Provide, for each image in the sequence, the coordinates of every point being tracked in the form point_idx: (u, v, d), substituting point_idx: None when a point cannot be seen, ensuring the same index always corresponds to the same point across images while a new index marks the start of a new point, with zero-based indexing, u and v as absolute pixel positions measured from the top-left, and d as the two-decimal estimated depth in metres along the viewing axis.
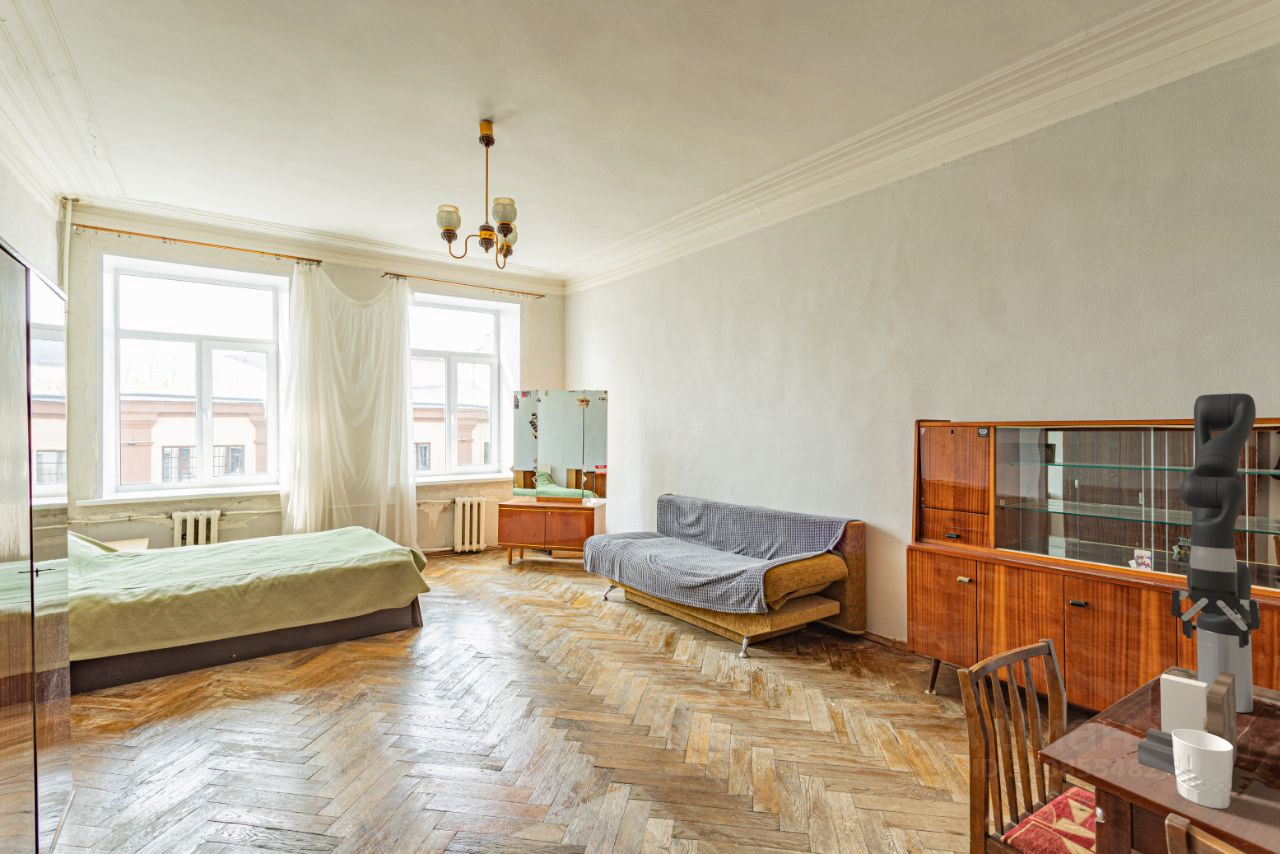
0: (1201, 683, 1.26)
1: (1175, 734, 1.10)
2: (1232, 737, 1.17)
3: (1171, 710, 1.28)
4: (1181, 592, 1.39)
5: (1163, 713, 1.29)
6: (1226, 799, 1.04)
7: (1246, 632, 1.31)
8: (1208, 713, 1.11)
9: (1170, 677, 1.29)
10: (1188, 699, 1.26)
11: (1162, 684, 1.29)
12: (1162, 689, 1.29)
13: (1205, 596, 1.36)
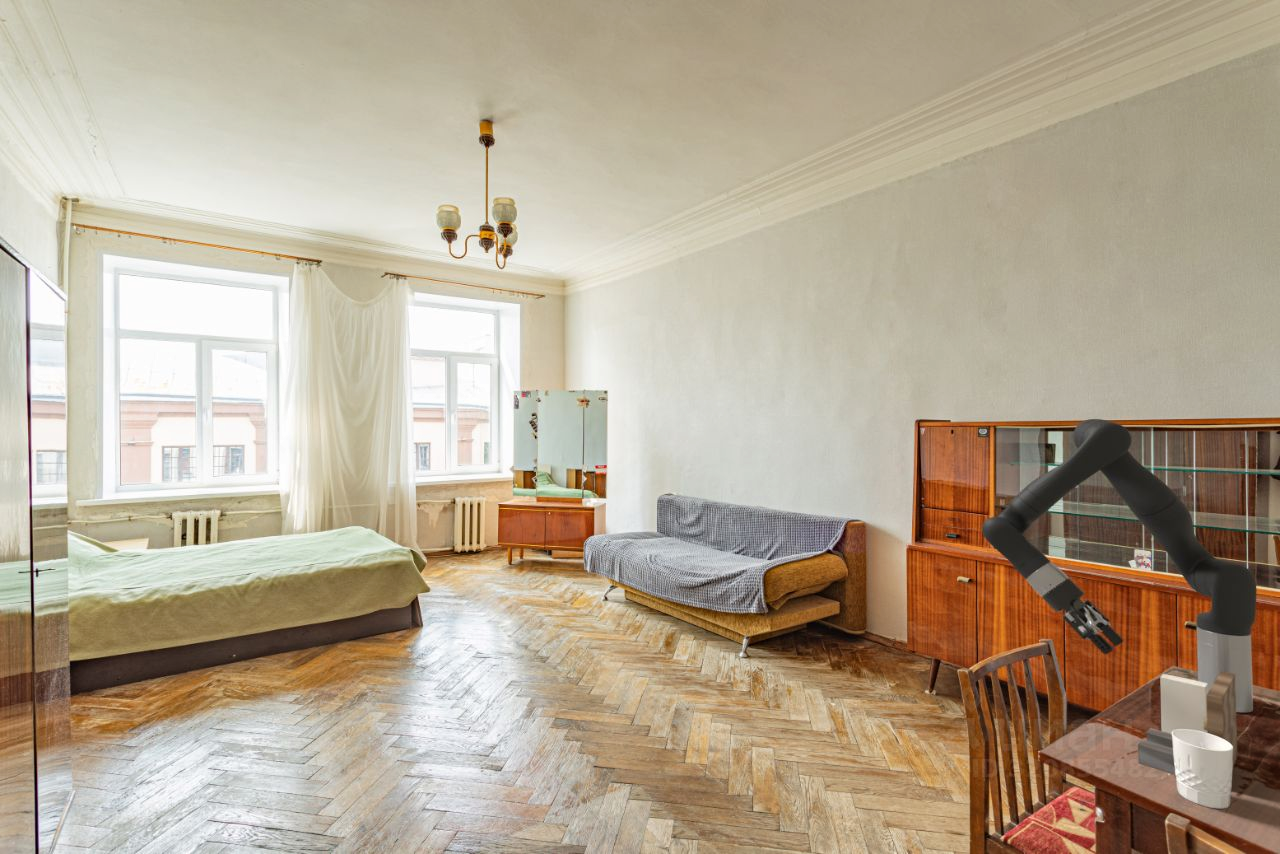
0: (1201, 683, 1.26)
1: (1175, 734, 1.10)
2: (1232, 737, 1.17)
3: (1171, 710, 1.28)
4: None
5: (1163, 713, 1.29)
6: (1226, 799, 1.04)
7: None
8: (1208, 713, 1.11)
9: (1170, 677, 1.29)
10: (1188, 699, 1.26)
11: (1162, 684, 1.29)
12: (1162, 689, 1.29)
13: None
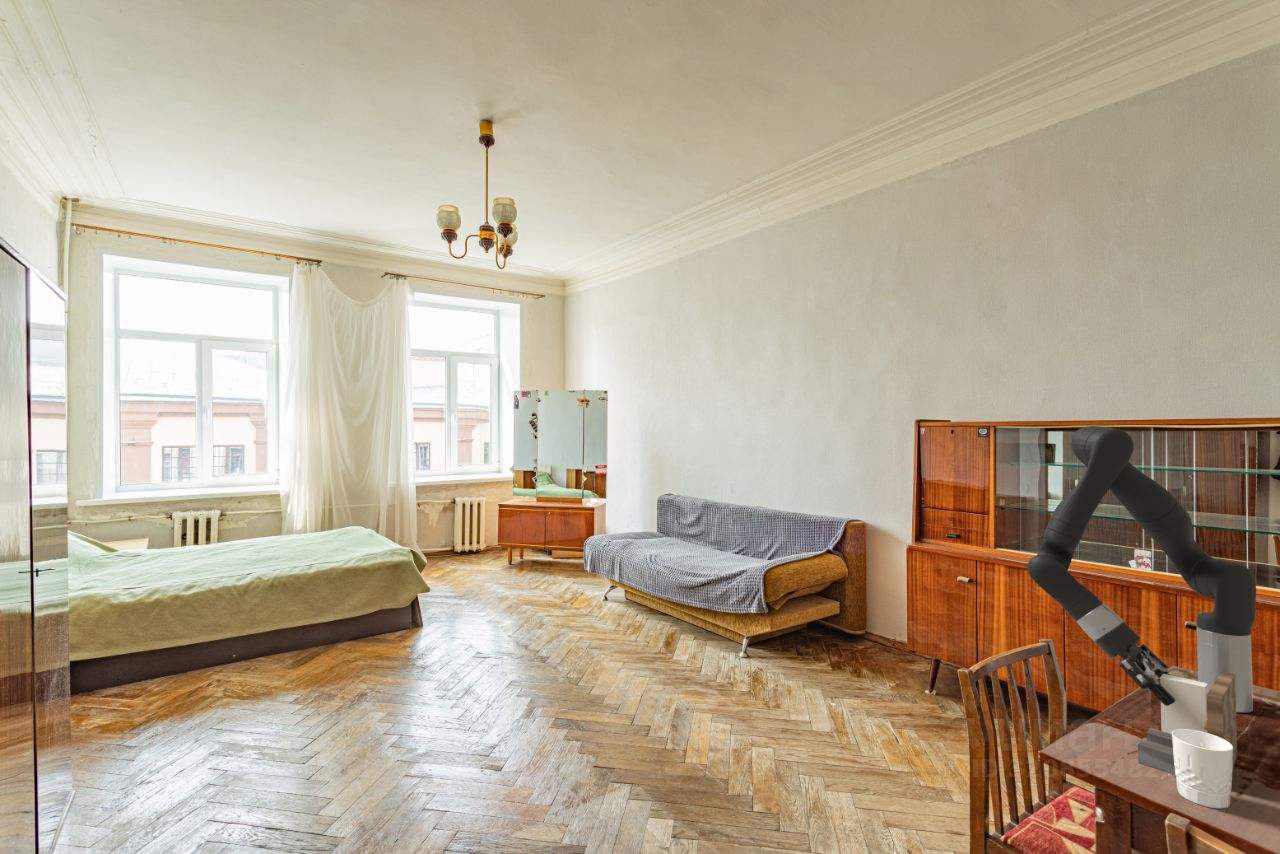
0: (1201, 683, 1.26)
1: (1175, 734, 1.10)
2: (1232, 737, 1.17)
3: (1171, 710, 1.28)
4: None
5: (1163, 713, 1.29)
6: (1226, 799, 1.04)
7: None
8: (1208, 713, 1.11)
9: (1170, 677, 1.29)
10: (1188, 699, 1.26)
11: (1162, 684, 1.29)
12: None
13: None
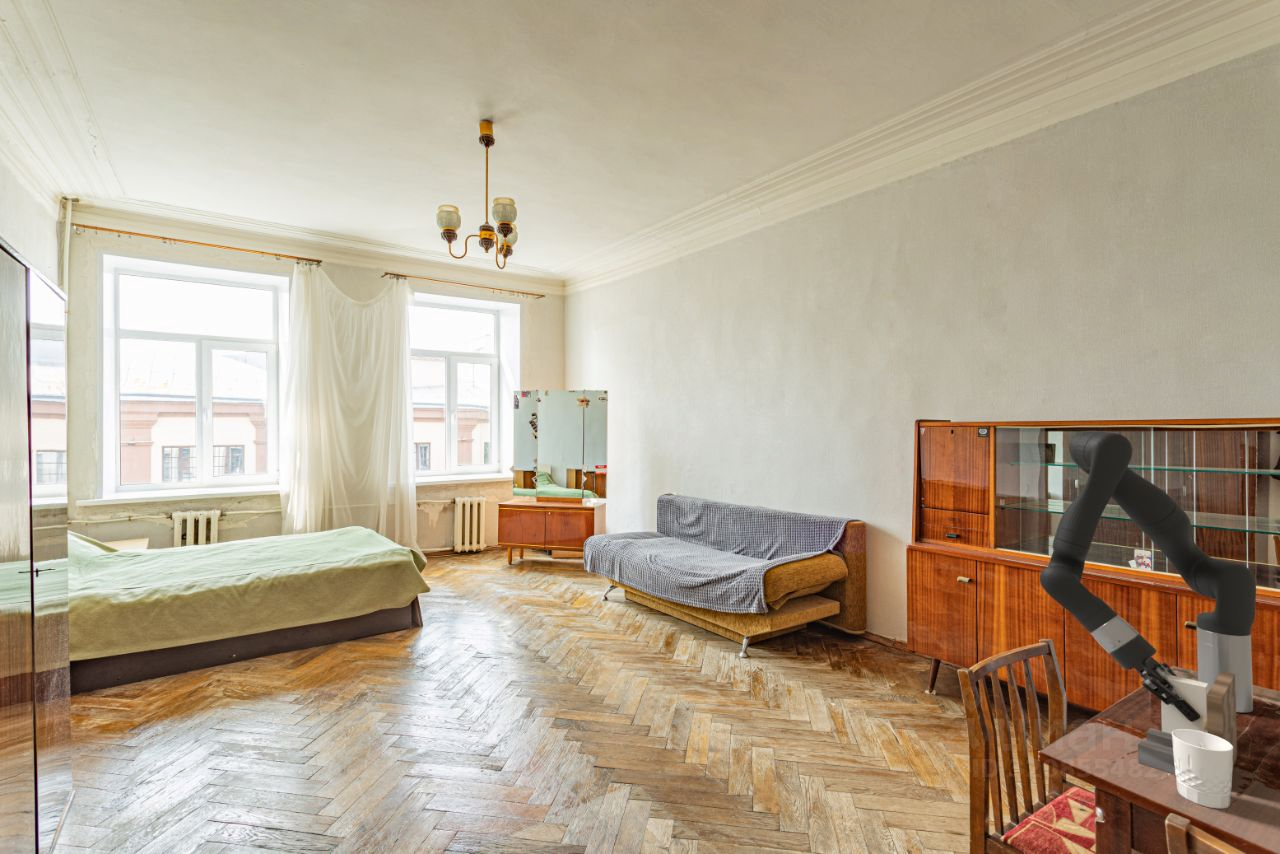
0: (1202, 683, 1.26)
1: (1175, 734, 1.10)
2: (1232, 737, 1.17)
3: (1171, 710, 1.28)
4: None
5: (1163, 713, 1.29)
6: (1226, 799, 1.04)
7: None
8: (1208, 713, 1.11)
9: (1171, 677, 1.29)
10: (1189, 699, 1.26)
11: None
12: None
13: None
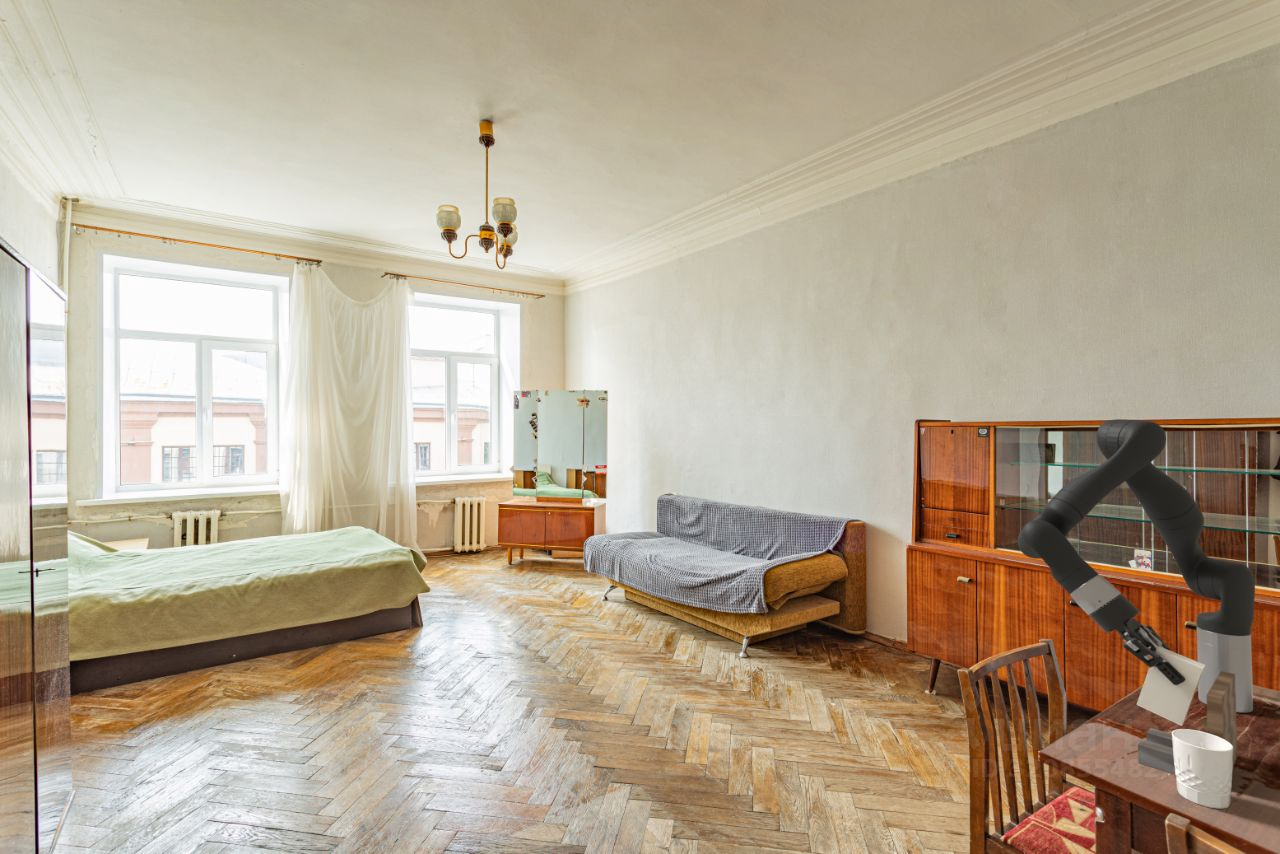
0: (1199, 663, 1.16)
1: (1175, 734, 1.10)
2: (1232, 737, 1.17)
3: (1155, 683, 1.19)
4: None
5: (1146, 685, 1.20)
6: (1226, 799, 1.04)
7: None
8: (1208, 713, 1.11)
9: (1166, 651, 1.19)
10: None
11: None
12: None
13: None
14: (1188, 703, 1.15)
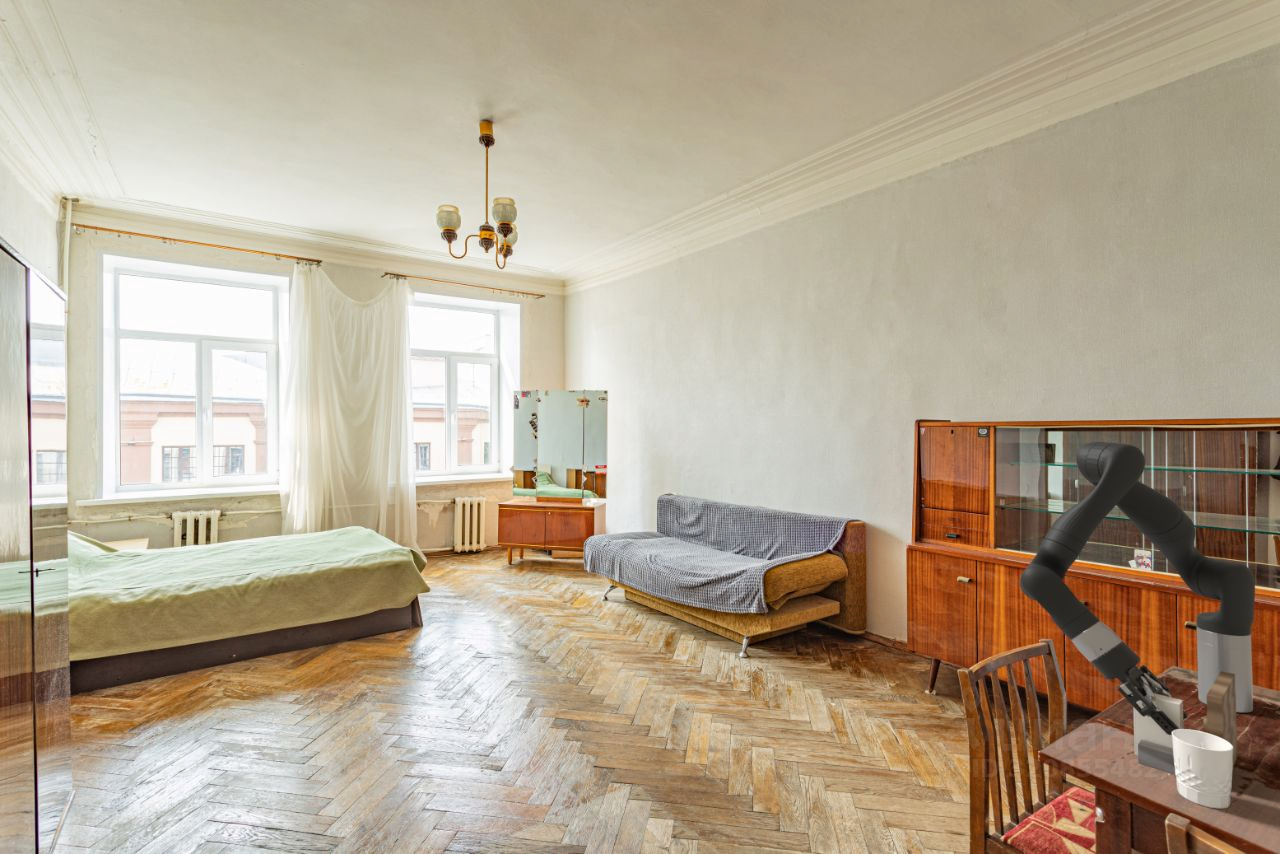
0: (1176, 700, 1.18)
1: (1175, 734, 1.10)
2: (1232, 737, 1.17)
3: (1144, 728, 1.20)
4: None
5: (1136, 731, 1.21)
6: (1226, 799, 1.04)
7: None
8: (1208, 713, 1.11)
9: None
10: None
11: None
12: None
13: None
14: None
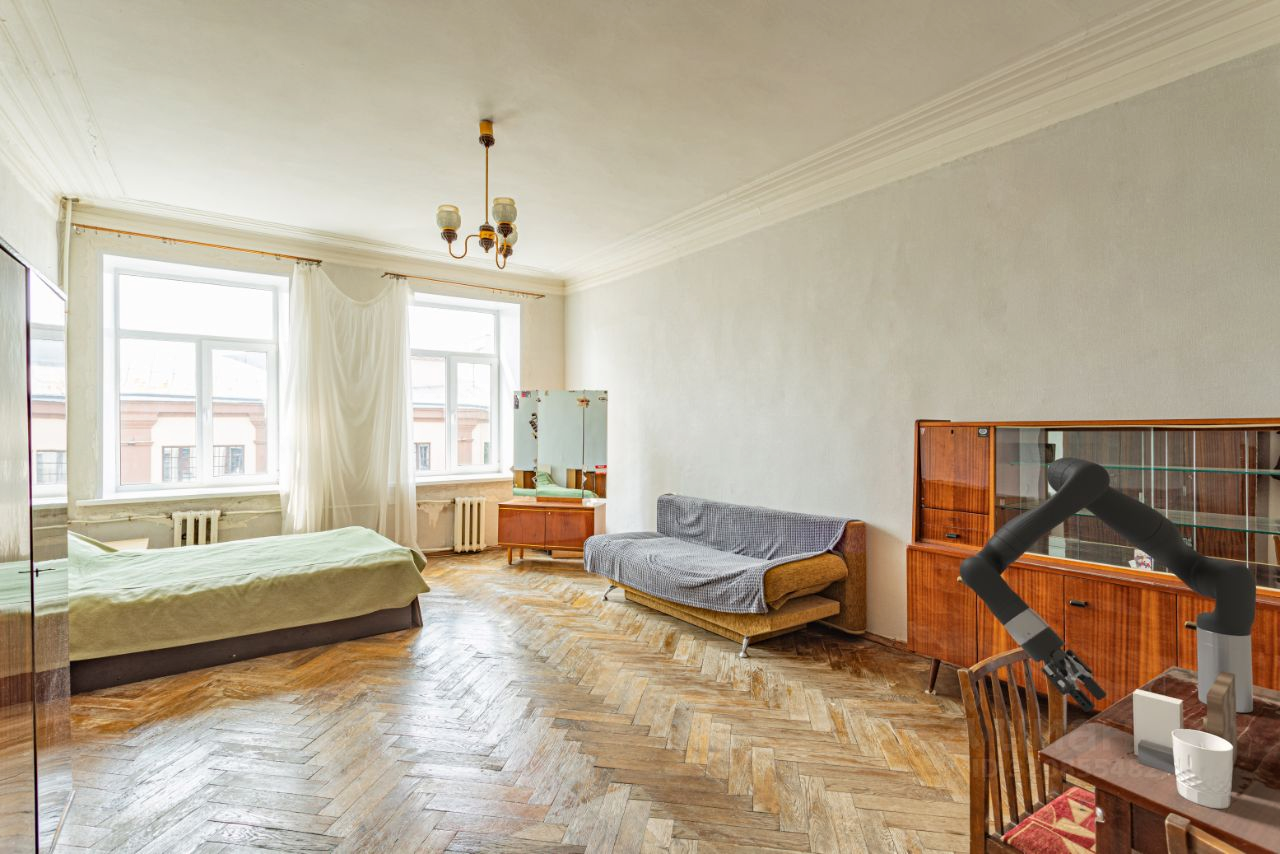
0: (1176, 700, 1.18)
1: (1175, 734, 1.10)
2: (1232, 737, 1.17)
3: (1144, 728, 1.20)
4: None
5: (1136, 731, 1.21)
6: (1226, 799, 1.04)
7: None
8: (1208, 713, 1.11)
9: (1144, 693, 1.21)
10: (1162, 717, 1.18)
11: (1135, 700, 1.21)
12: (1135, 706, 1.21)
13: None
14: None
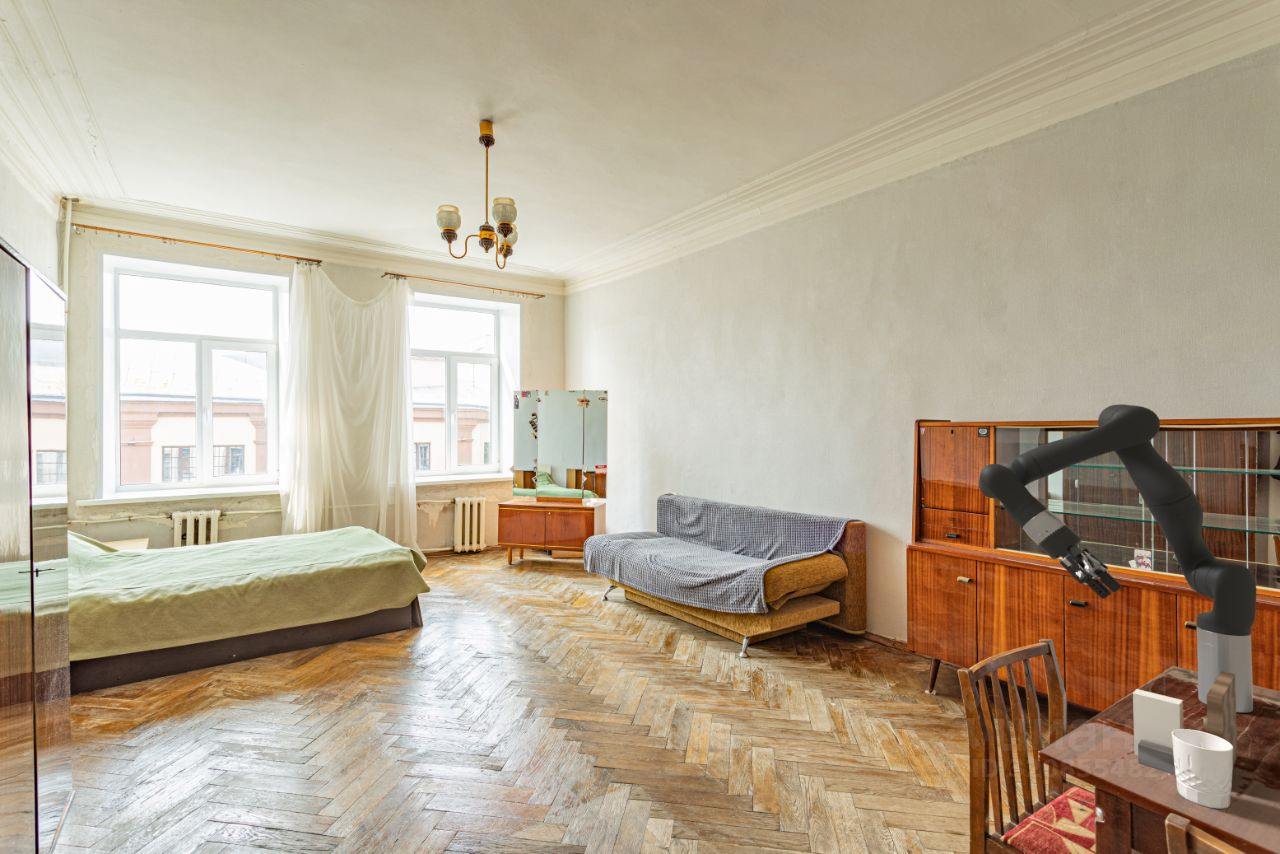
0: (1176, 700, 1.18)
1: (1175, 734, 1.10)
2: (1232, 737, 1.17)
3: (1144, 728, 1.20)
4: None
5: (1136, 731, 1.21)
6: (1226, 799, 1.04)
7: None
8: (1208, 713, 1.11)
9: (1144, 693, 1.21)
10: (1162, 717, 1.18)
11: (1135, 700, 1.21)
12: (1135, 706, 1.21)
13: None
14: None
